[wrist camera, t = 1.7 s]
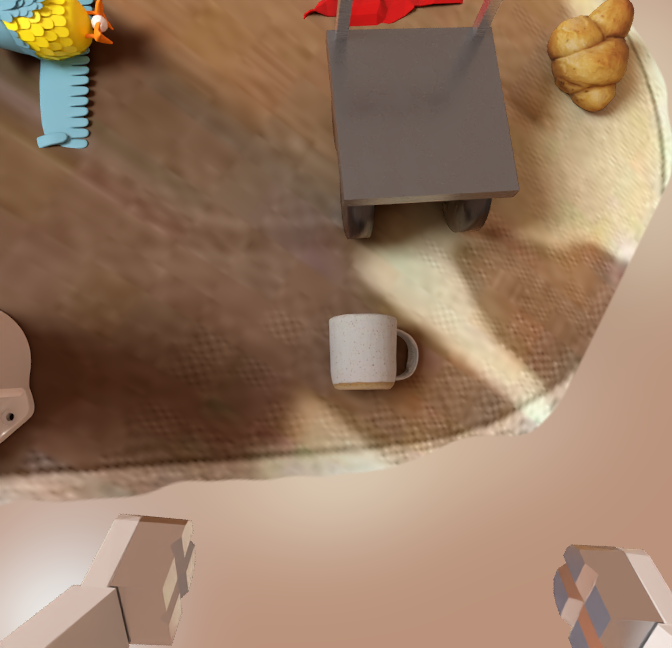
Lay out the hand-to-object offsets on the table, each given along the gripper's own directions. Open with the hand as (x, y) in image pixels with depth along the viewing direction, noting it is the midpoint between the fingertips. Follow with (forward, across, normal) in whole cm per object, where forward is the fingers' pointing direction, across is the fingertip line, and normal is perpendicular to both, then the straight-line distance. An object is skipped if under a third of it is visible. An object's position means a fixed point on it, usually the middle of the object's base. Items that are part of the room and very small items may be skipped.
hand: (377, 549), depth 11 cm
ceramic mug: (+43, +3, -22) cm, 48 cm away
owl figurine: (+64, -39, +8) cm, 75 cm away
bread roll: (+70, +30, +9) cm, 77 cm away
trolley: (+58, +6, -3) cm, 59 cm away
